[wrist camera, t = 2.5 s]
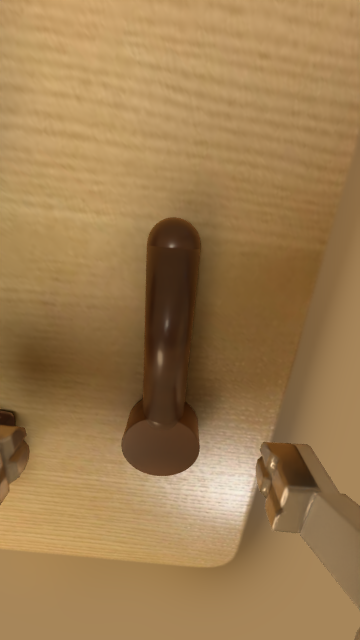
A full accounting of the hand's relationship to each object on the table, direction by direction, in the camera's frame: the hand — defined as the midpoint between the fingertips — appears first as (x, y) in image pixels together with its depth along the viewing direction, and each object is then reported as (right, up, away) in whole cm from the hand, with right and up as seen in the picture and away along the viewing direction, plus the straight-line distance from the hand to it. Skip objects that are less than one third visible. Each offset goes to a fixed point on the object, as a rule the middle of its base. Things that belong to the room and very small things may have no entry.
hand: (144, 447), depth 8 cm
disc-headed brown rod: (0, +2, +6) cm, 6 cm away
